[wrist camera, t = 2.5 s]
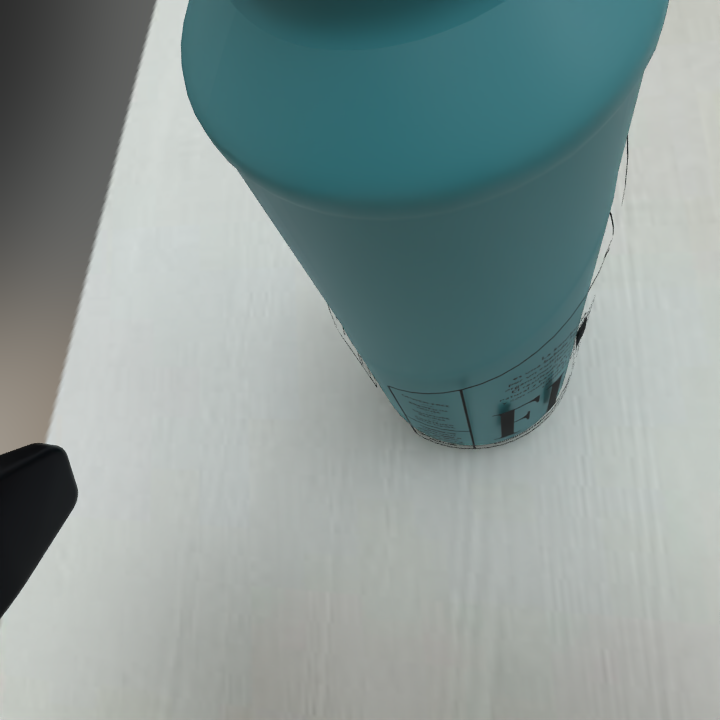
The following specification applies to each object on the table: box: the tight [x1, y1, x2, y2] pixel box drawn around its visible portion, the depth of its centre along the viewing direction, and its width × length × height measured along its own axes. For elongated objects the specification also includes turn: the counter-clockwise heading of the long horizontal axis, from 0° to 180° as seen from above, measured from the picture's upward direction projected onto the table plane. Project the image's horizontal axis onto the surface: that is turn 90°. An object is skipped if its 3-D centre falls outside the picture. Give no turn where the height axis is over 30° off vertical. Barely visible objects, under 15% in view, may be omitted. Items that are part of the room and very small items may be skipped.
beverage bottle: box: [181, 0, 669, 449], centre depth 13 cm, size 6×7×20 cm
